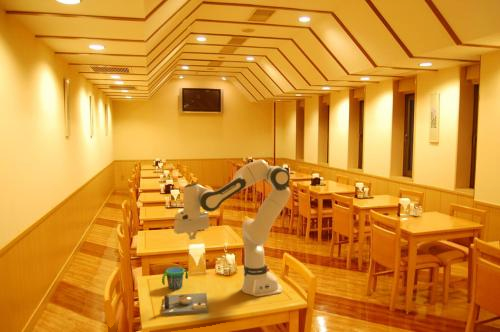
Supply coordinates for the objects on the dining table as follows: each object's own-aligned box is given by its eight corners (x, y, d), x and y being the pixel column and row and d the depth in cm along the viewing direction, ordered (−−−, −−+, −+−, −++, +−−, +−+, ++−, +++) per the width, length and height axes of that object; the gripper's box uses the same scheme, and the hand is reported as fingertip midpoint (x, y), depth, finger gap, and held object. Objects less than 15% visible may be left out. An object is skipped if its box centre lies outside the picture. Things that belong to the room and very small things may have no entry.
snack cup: (184, 281, 238) (183, 264, 237) (191, 287, 230) (191, 270, 229) (158, 287, 230) (158, 270, 229) (165, 293, 221) (165, 275, 220)
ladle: (188, 298, 211) (187, 286, 210) (195, 302, 205) (194, 291, 205) (161, 306, 201) (161, 294, 201) (168, 311, 196) (167, 299, 195)
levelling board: (206, 295, 218) (206, 288, 218) (208, 313, 199) (207, 304, 198) (163, 298, 215) (163, 290, 215) (161, 316, 195) (160, 307, 195)
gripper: (205, 210, 224) (205, 234, 225) (172, 215, 211) (172, 241, 212) (211, 212, 219) (211, 237, 220) (177, 217, 206) (178, 243, 208)
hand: (192, 239), depth 216 cm, fingers closed
